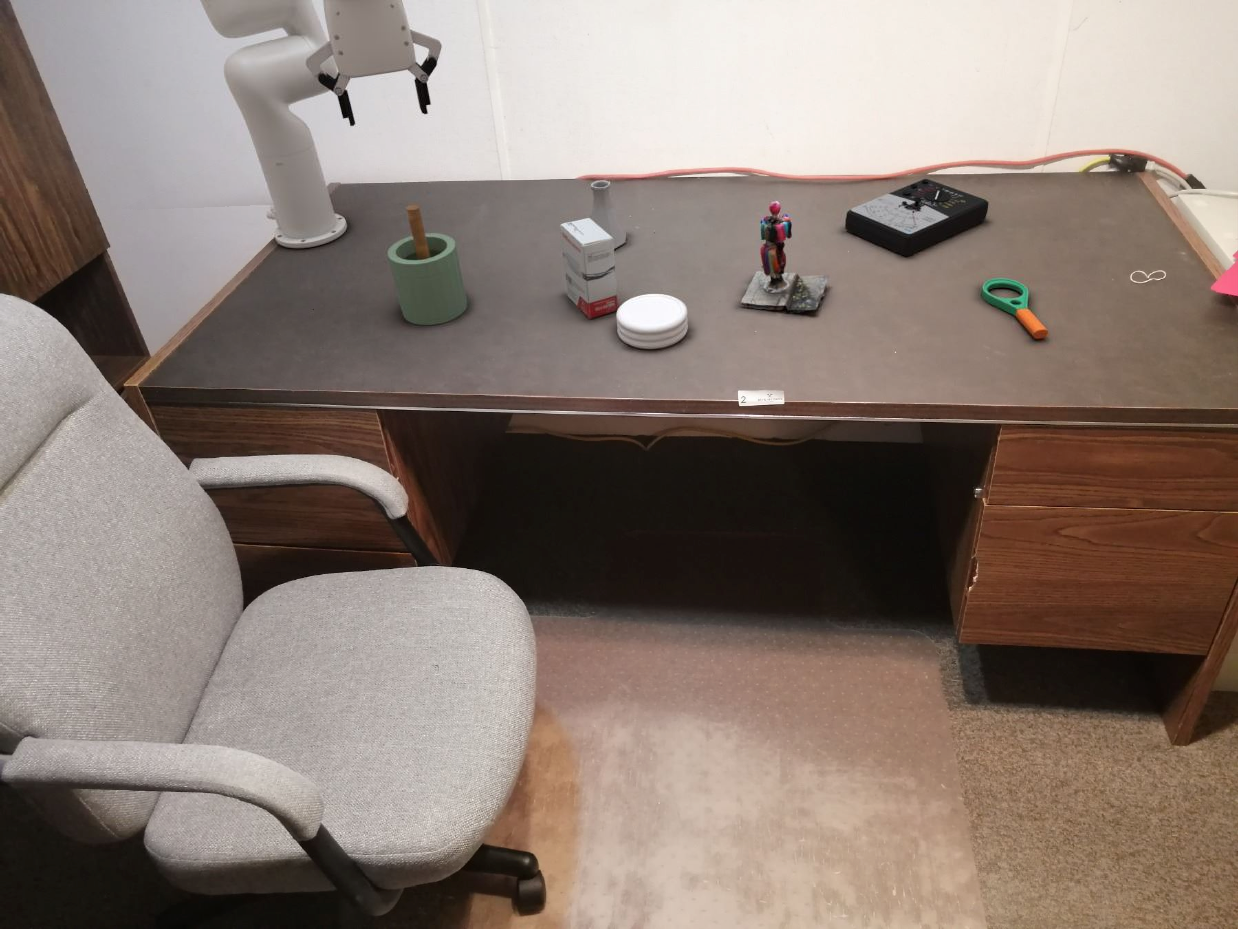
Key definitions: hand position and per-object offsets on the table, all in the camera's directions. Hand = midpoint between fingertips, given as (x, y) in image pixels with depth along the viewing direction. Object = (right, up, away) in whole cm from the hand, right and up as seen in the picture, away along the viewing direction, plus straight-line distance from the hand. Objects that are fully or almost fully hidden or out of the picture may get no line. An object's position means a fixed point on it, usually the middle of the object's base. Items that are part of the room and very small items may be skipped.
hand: (388, 116), depth 120 cm
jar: (+3, -23, +16) cm, 28 cm away
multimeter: (+80, -8, +26) cm, 84 cm away
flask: (+29, -10, +30) cm, 43 cm away
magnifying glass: (+86, -26, +4) cm, 90 cm away
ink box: (+27, -23, +14) cm, 38 cm away
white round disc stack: (+36, -28, +7) cm, 46 cm away
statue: (+56, -22, +12) cm, 61 cm away
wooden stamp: (+3, -23, +16) cm, 27 cm away
